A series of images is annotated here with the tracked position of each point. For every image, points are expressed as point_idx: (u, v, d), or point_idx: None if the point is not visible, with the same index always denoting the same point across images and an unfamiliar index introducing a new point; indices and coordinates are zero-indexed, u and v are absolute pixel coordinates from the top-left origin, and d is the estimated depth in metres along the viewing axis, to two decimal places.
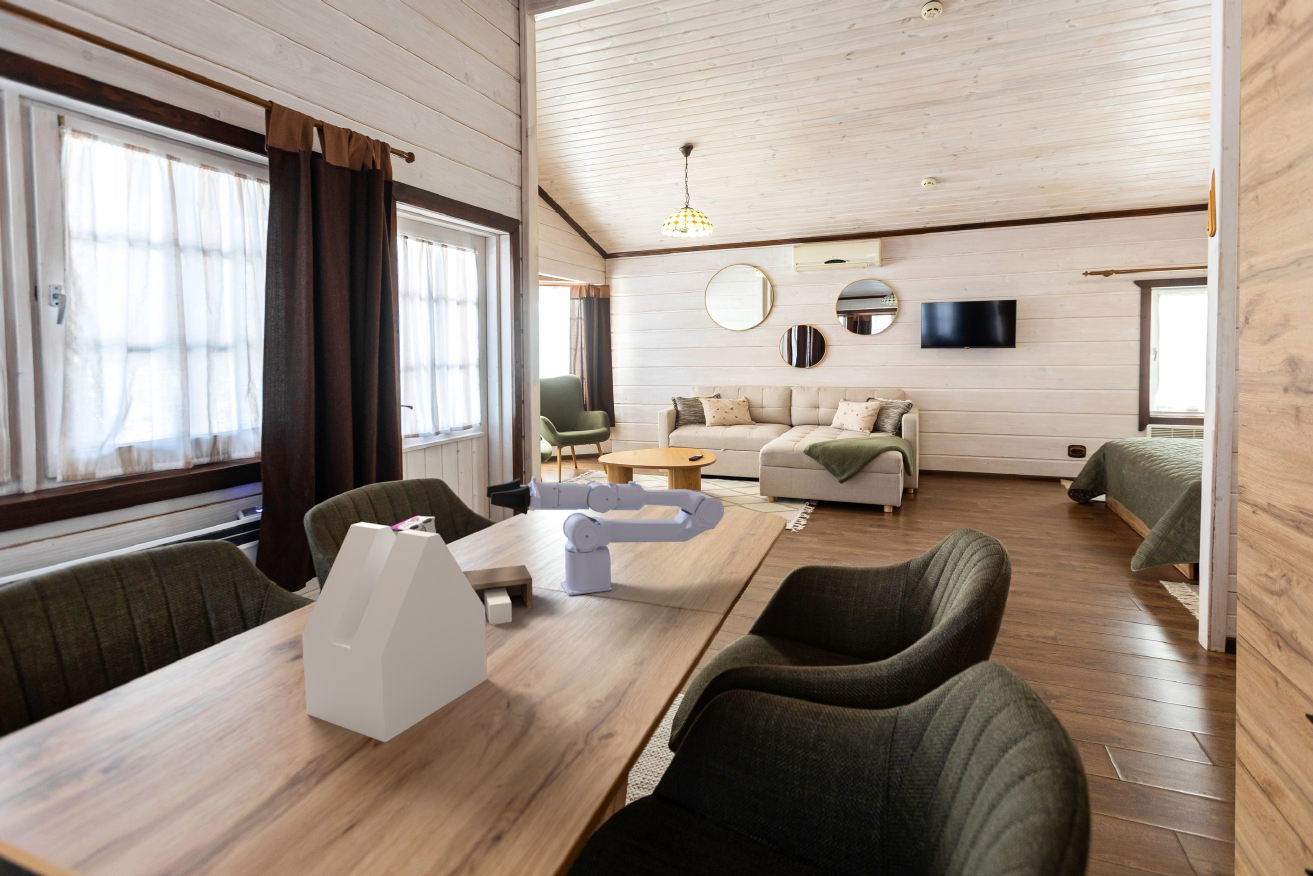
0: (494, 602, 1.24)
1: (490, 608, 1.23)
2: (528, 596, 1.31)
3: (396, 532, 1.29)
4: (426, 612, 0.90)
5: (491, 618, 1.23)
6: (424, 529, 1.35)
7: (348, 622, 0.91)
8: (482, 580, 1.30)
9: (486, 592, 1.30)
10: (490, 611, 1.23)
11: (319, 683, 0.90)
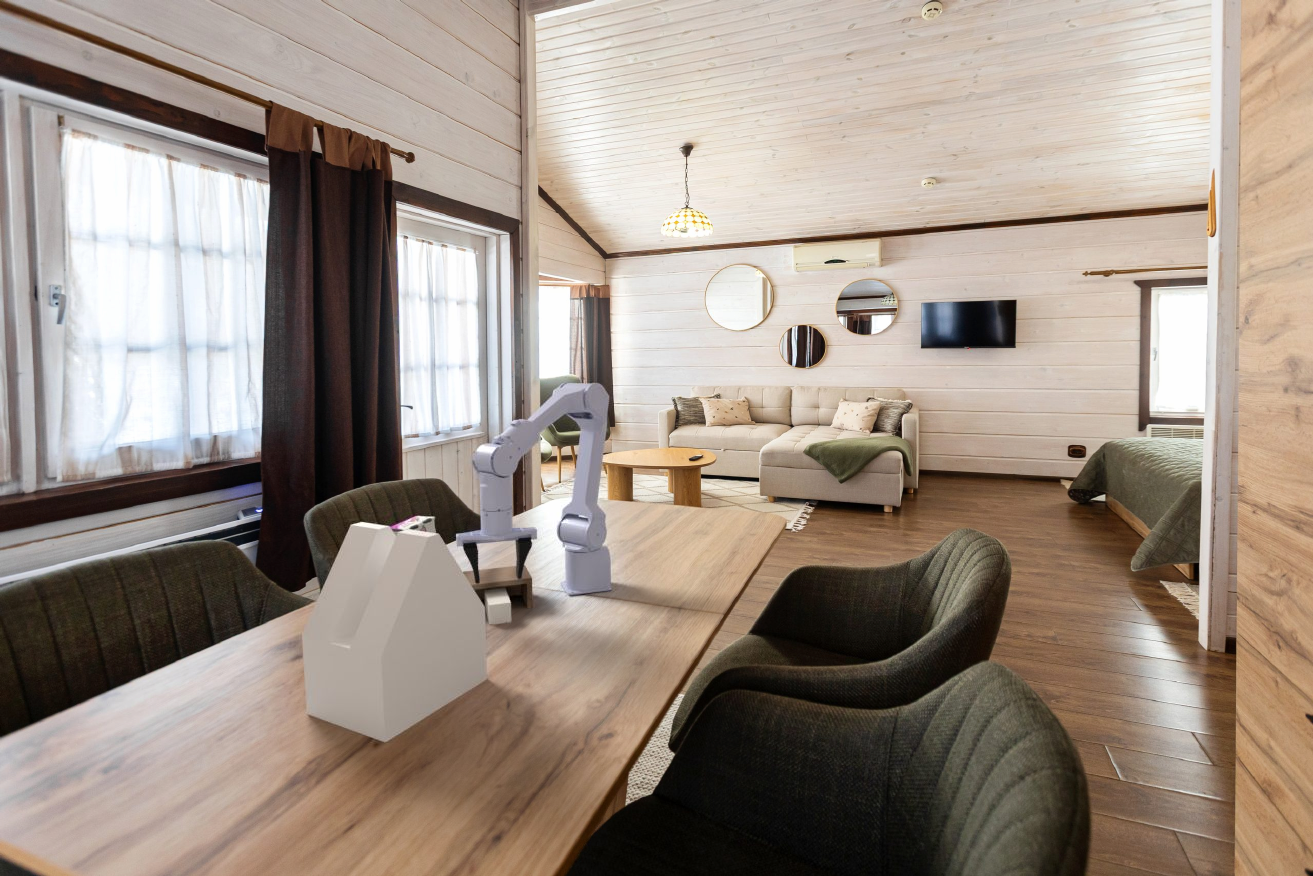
0: (494, 602, 1.24)
1: (490, 608, 1.23)
2: (528, 596, 1.31)
3: (396, 532, 1.29)
4: (426, 612, 0.90)
5: (491, 618, 1.23)
6: (424, 528, 1.35)
7: (348, 622, 0.91)
8: (482, 580, 1.30)
9: (486, 592, 1.30)
10: (490, 611, 1.23)
11: (319, 683, 0.90)
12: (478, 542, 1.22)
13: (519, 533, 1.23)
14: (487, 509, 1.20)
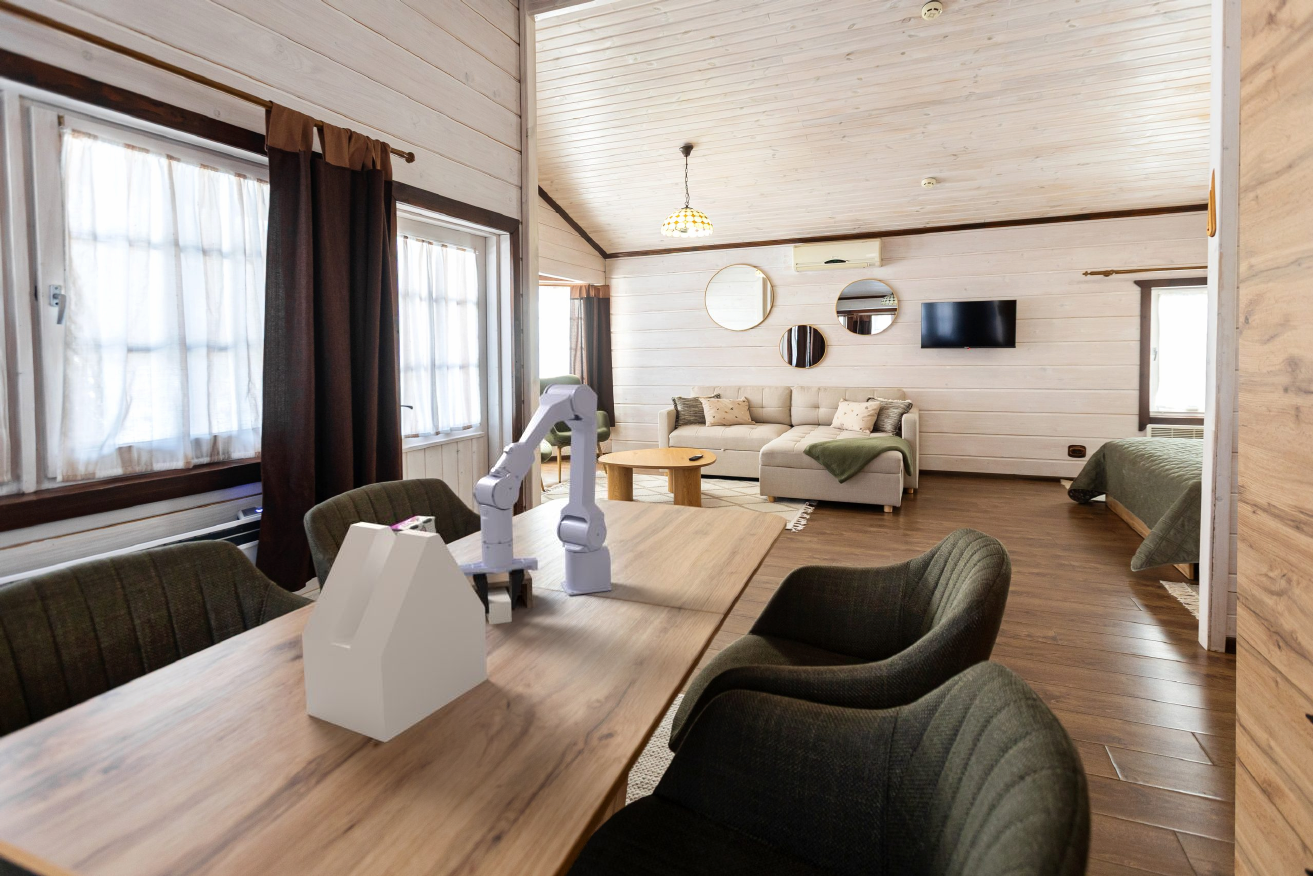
0: (494, 601, 1.24)
1: (490, 607, 1.23)
2: (528, 596, 1.31)
3: (396, 532, 1.29)
4: (426, 612, 0.90)
5: (491, 617, 1.23)
6: (424, 528, 1.35)
7: (348, 622, 0.91)
8: None
9: None
10: (490, 610, 1.23)
11: (319, 683, 0.90)
12: (479, 574, 1.23)
13: (520, 565, 1.24)
14: (488, 541, 1.21)
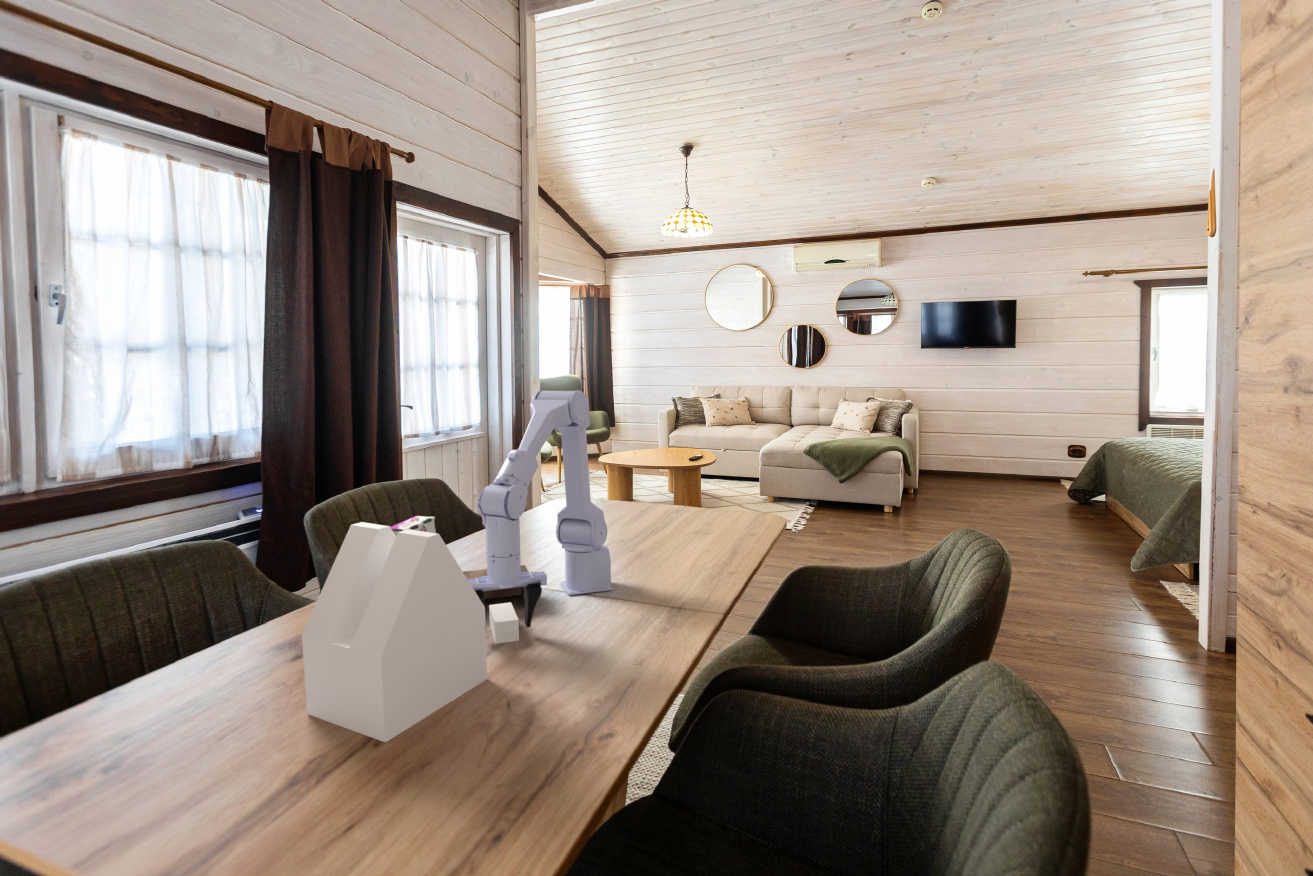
0: (500, 619, 1.16)
1: (496, 626, 1.15)
2: None
3: (396, 532, 1.29)
4: (426, 612, 0.90)
5: (497, 636, 1.15)
6: (424, 528, 1.35)
7: (348, 622, 0.91)
8: None
9: (491, 608, 1.21)
10: (496, 629, 1.15)
11: (319, 683, 0.90)
12: (484, 589, 1.14)
13: (528, 579, 1.15)
14: (498, 555, 1.12)
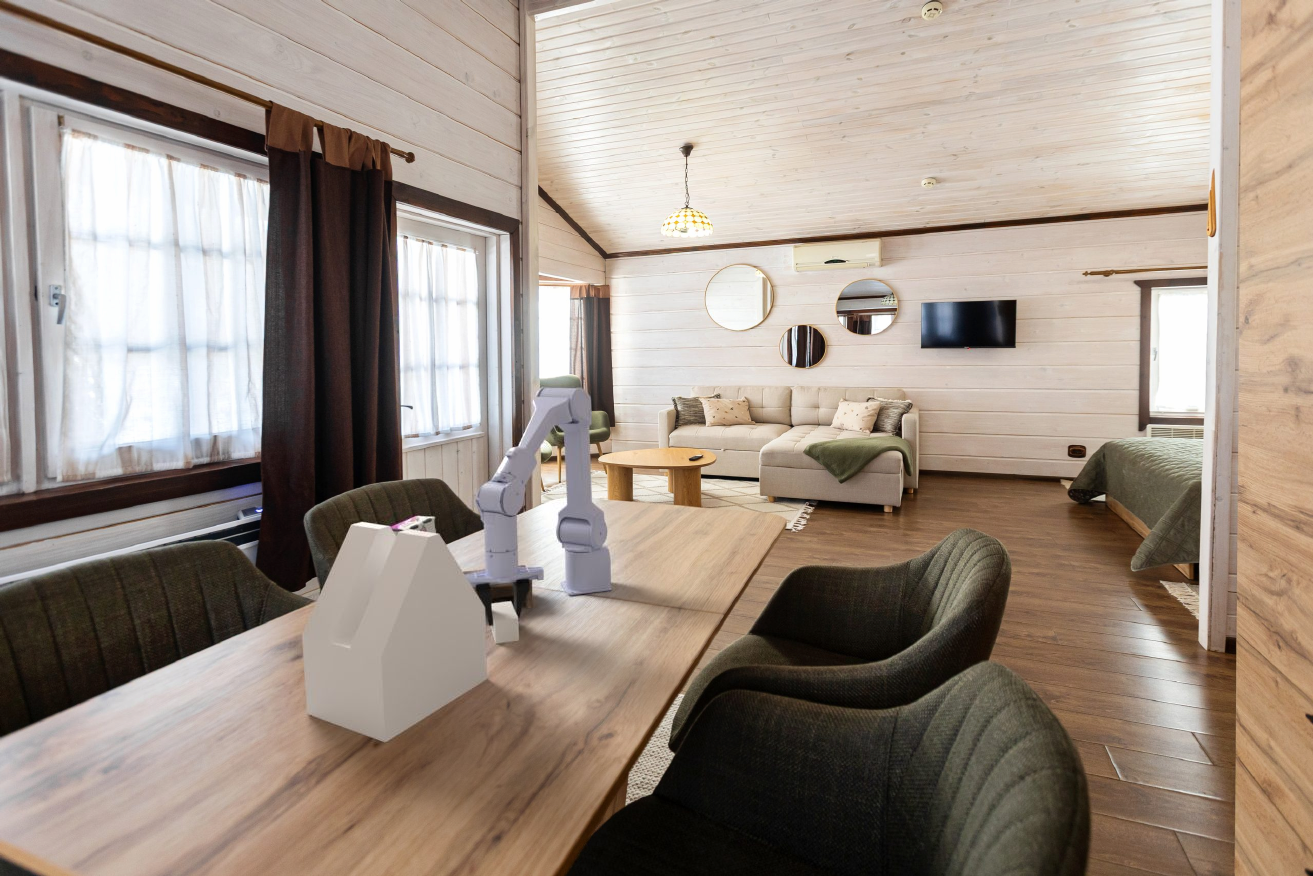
0: (500, 618, 1.16)
1: (496, 625, 1.15)
2: (528, 596, 1.31)
3: (396, 532, 1.29)
4: (426, 612, 0.90)
5: (497, 635, 1.15)
6: (424, 529, 1.35)
7: (348, 622, 0.91)
8: None
9: None
10: (496, 628, 1.15)
11: (319, 683, 0.90)
12: (482, 584, 1.17)
13: (525, 574, 1.18)
14: (495, 550, 1.15)
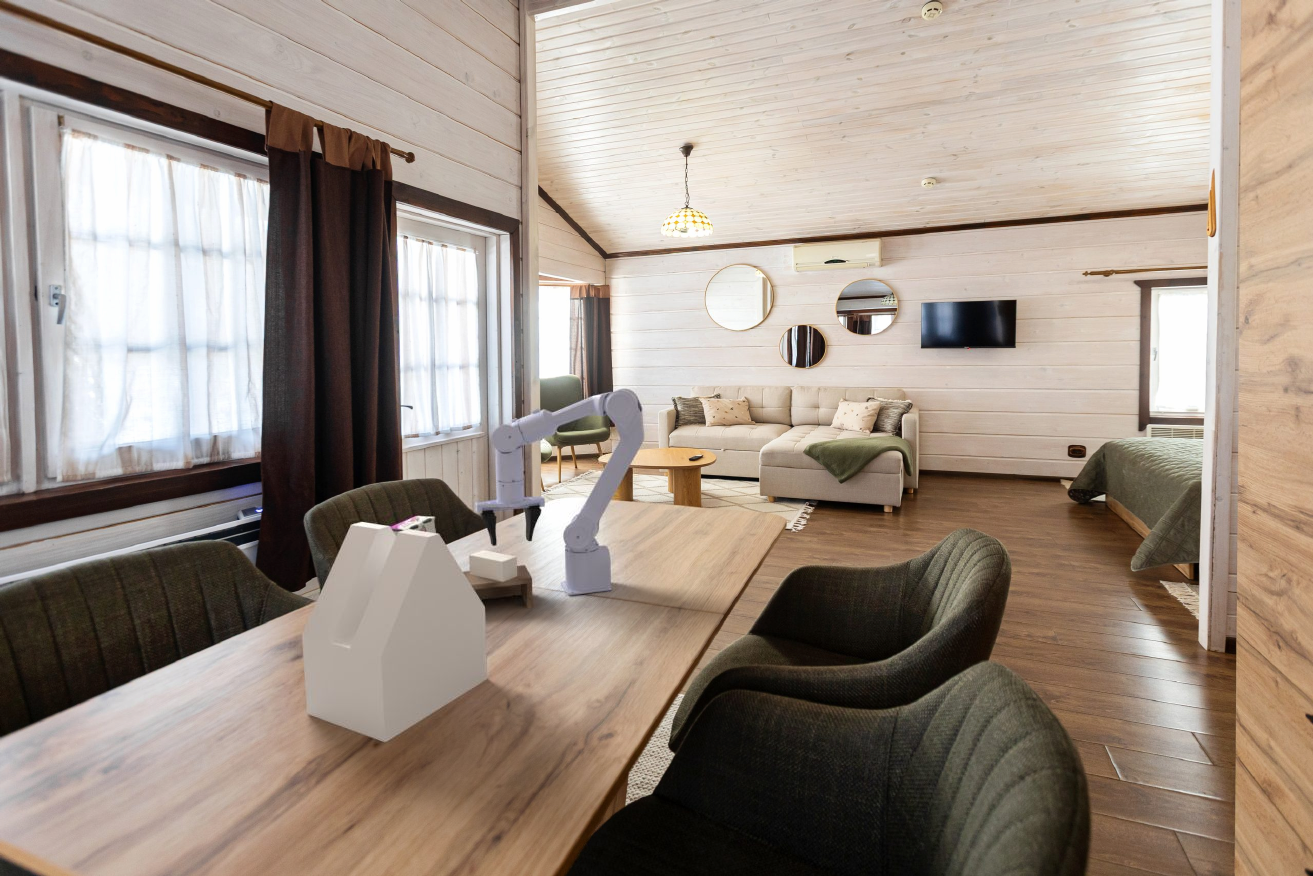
0: (502, 559, 1.30)
1: (503, 564, 1.29)
2: (528, 596, 1.31)
3: (396, 532, 1.29)
4: (426, 612, 0.90)
5: (503, 574, 1.29)
6: (424, 528, 1.35)
7: (348, 622, 0.91)
8: (482, 580, 1.30)
9: (476, 556, 1.32)
10: (502, 567, 1.29)
11: (319, 683, 0.90)
12: (495, 509, 1.40)
13: (530, 501, 1.42)
14: (496, 478, 1.40)
